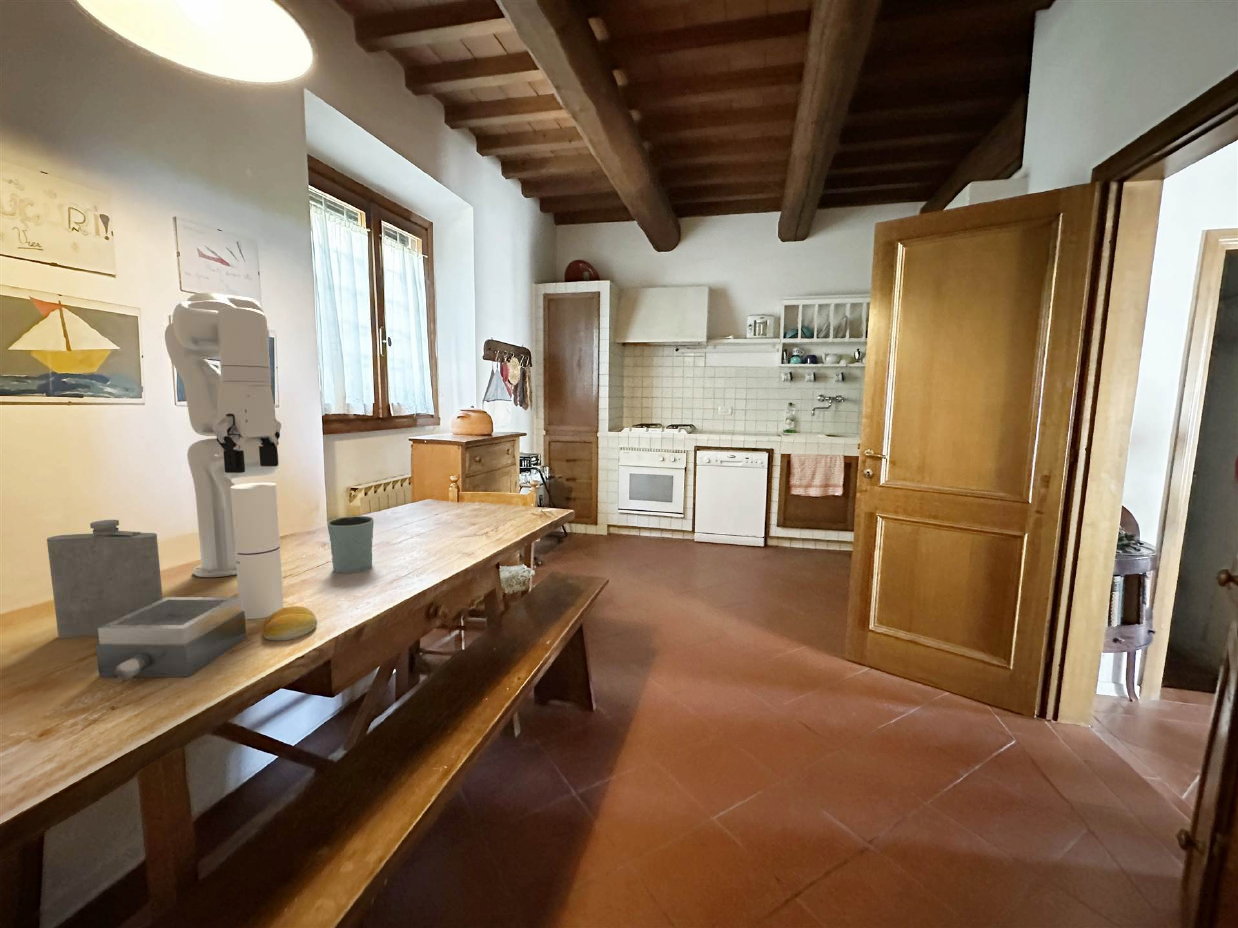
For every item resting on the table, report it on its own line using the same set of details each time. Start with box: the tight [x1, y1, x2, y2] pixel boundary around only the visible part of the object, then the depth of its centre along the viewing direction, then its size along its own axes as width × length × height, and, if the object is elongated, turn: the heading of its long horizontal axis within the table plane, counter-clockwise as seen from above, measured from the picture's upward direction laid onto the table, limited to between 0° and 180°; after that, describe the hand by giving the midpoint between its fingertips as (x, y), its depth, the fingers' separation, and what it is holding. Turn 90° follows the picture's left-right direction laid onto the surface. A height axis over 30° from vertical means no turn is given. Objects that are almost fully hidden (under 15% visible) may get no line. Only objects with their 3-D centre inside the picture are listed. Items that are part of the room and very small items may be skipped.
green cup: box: [327, 515, 375, 574], centre depth 130 cm, size 10×10×12 cm
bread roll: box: [262, 605, 318, 641], centre depth 95 cm, size 8×9×4 cm
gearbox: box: [95, 596, 247, 681], centre depth 84 cm, size 16×13×8 cm
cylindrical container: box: [230, 482, 285, 620], centre depth 102 cm, size 7×7×25 cm
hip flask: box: [46, 519, 164, 640], centre depth 93 cm, size 16×4×20 cm, turn 99°
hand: (253, 469), depth 100 cm, fingers open, 9 cm apart
